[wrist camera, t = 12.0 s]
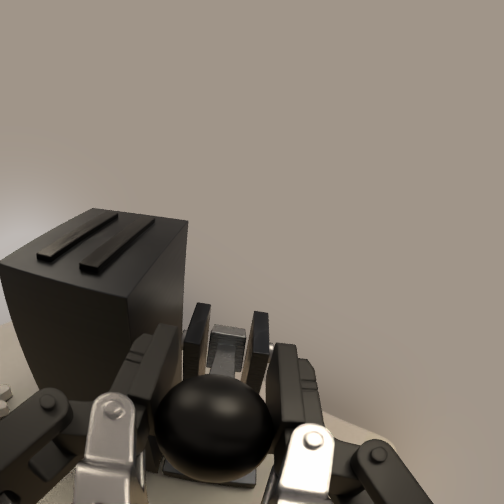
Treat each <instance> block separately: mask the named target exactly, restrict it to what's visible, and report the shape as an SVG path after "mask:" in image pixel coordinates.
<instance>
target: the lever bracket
mask: <svg viewBox="0 0 504 504" xmlns="http://www.w3.org/2000/svg"><path fill="white" fill-rule="evenodd" d="M210 310H211V305H210V304H205V303H197V305H196V307H195V310H194V313H193V315H192V318H191V321H190V324H189V327H188V330H184V331H183V333H182V336H181V343H180V348H181V350H183V381H184V380H186V379H188V378H191V377H194V376H198V375H204V374H205V367H206V354H207V342H208V331H209V320H210ZM268 322H269V319H268V313H265V312H258V311H254V315H253V320H252V325H251V330H250V335H249V340H248V345H247V351H246V356H245V361H244V366H243V371H242V376H241V381H242V382H244V383H245V384H247V385H248V386H250V387H251V388H252V389H254V390H255V391H256V392H257V393H258V394H259V392H260V389H261V385H262V381H263V378H264V374H265V370H266V367H267V363H270V360H271V357H272V353H273V343H269V323H268ZM162 471H163V475H166V476H171V477H175V478H180V479H185V480H190V481H196V482H202V483H208V484H215V485H223V486H232V487H243V488H254V487H255V485H256V469H254V470H253V471H252V472H251V473H249V474H247V475H245V476H244V477H242V478H239V479H236V480H233V481H229V482H222V483H211V482H204V481H199V480H196V479H193V478H190V477H188V476H186V475H184V474H183V473H181V472H180V471H178V470H177V469H175V468H174V467H173V466H172V465H171V464H170V463H169V462H168V461H167V460H166V458H165V461H164V465H163V469H162Z"/></svg>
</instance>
